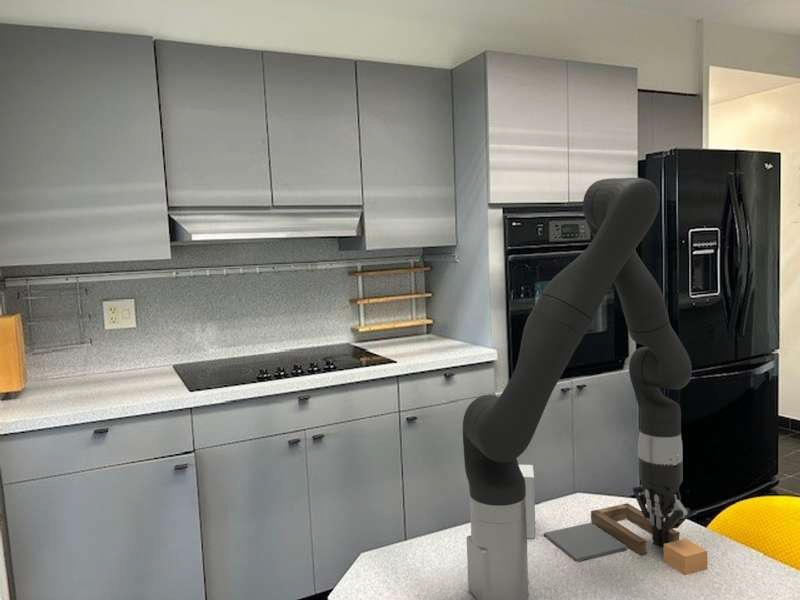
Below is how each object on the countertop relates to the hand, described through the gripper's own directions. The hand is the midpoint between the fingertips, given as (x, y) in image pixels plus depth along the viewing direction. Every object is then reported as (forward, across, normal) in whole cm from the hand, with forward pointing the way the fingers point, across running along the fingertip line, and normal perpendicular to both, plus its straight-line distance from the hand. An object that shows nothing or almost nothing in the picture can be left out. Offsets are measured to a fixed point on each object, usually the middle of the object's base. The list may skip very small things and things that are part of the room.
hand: (660, 545), depth 114 cm
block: (+1, +6, 0) cm, 6 cm away
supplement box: (+1, -18, -20) cm, 27 cm away
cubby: (+1, -8, 0) cm, 8 cm away
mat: (+1, -8, -11) cm, 14 cm away
